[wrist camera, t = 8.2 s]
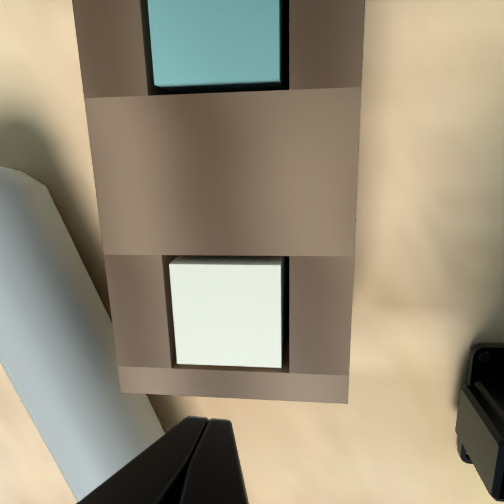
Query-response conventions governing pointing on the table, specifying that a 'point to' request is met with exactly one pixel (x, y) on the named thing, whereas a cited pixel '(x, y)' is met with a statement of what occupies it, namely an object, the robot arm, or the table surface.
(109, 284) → the walnut block
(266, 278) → the peg cream
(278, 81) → the peg teal
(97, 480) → the tube
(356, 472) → the table surface
